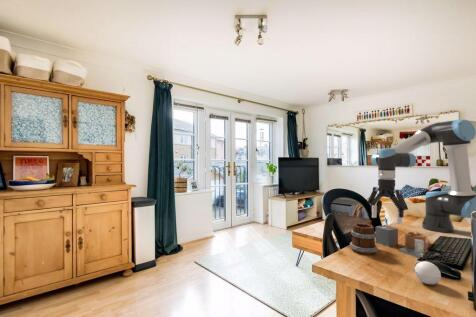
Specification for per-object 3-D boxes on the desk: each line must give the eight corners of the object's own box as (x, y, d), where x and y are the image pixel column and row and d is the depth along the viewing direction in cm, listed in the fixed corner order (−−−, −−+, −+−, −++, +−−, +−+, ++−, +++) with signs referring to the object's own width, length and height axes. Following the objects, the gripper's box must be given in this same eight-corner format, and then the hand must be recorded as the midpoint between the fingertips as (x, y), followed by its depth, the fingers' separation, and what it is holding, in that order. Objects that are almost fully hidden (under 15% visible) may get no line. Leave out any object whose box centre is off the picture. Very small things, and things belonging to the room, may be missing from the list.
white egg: (415, 276, 91) (415, 256, 91) (441, 282, 86) (441, 261, 86) (411, 286, 83) (411, 265, 83) (440, 294, 79) (440, 271, 79)
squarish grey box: (385, 240, 131) (385, 224, 131) (398, 244, 124) (398, 228, 124) (375, 242, 128) (375, 226, 128) (388, 246, 122) (388, 229, 122)
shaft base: (414, 247, 120) (414, 235, 120) (440, 256, 110) (440, 242, 110) (399, 251, 116) (399, 238, 116) (424, 259, 105) (424, 245, 105)
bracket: (424, 252, 115) (424, 238, 115) (403, 248, 120) (403, 234, 120) (430, 243, 127) (430, 230, 127) (411, 239, 133) (411, 226, 133)
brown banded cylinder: (344, 250, 116) (346, 217, 118) (356, 248, 125) (358, 218, 127) (371, 257, 107) (373, 222, 109) (381, 254, 117) (383, 222, 119)
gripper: (360, 177, 136) (360, 215, 136) (406, 181, 113) (406, 227, 113) (370, 176, 139) (370, 214, 139) (417, 180, 116) (416, 225, 116)
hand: (386, 220), depth 126 cm, fingers open, 13 cm apart
